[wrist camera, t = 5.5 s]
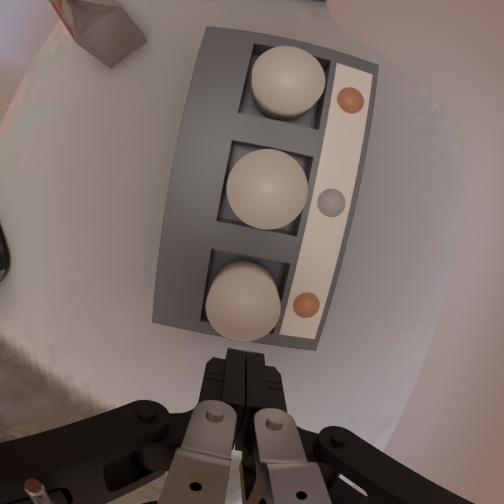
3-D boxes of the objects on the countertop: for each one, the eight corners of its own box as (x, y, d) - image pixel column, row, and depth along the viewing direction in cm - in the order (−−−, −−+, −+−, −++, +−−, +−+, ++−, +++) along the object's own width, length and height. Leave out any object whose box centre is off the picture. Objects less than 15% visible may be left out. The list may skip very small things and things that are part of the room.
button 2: (258, 57, 18) (259, 39, 16) (319, 70, 19) (329, 55, 16) (245, 113, 19) (245, 102, 16) (309, 126, 20) (319, 118, 17)
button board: (211, 43, 19) (206, 24, 16) (364, 77, 20) (380, 63, 17) (162, 306, 24) (150, 323, 21) (308, 332, 25) (316, 352, 21)
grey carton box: (113, -1, 18) (64, -59, 8) (147, 40, 19) (97, -24, 9) (80, 25, 18) (20, -22, 9) (110, 68, 20) (44, 20, 10)
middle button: (237, 147, 19) (235, 141, 16) (305, 161, 19) (315, 158, 16) (224, 215, 20) (219, 221, 17) (291, 228, 20) (298, 236, 17)
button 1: (217, 254, 20) (211, 266, 17) (282, 266, 21) (288, 280, 18) (206, 314, 21) (201, 334, 18) (268, 325, 22) (271, 346, 19)
